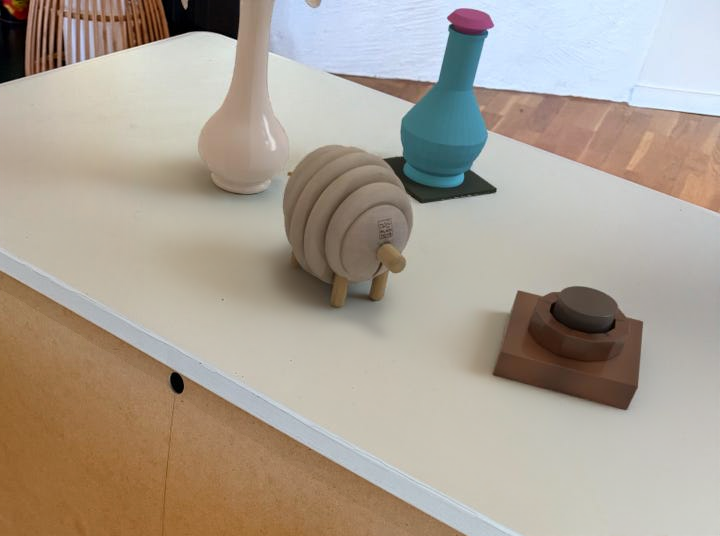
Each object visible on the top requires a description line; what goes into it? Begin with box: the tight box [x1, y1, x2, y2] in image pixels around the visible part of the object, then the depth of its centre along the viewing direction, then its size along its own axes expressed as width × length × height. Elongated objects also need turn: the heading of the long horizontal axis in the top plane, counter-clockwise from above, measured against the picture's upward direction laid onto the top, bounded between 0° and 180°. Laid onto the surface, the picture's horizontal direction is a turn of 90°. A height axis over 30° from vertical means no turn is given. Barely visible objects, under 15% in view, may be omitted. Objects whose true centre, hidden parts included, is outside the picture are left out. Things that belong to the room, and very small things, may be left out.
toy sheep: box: [282, 144, 414, 308], centre depth 79 cm, size 11×17×11 cm, turn 31°
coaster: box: [382, 155, 498, 204], centre depth 100 cm, size 10×10×1 cm
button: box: [552, 285, 619, 334], centre depth 75 cm, size 5×5×2 cm
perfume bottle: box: [399, 7, 495, 188], centre depth 95 cm, size 9×9×15 cm
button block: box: [492, 289, 644, 411], centre depth 77 cm, size 11×11×4 cm
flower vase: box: [181, 0, 322, 195], centre depth 85 cm, size 13×18×25 cm
